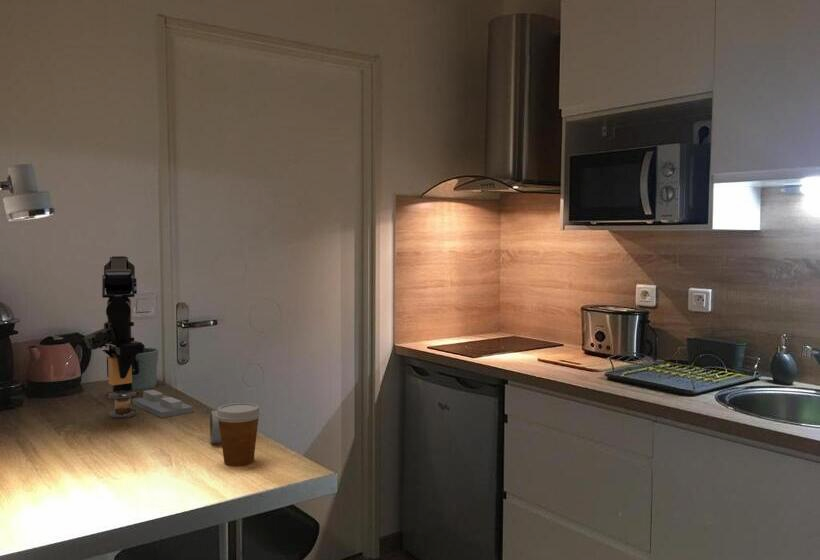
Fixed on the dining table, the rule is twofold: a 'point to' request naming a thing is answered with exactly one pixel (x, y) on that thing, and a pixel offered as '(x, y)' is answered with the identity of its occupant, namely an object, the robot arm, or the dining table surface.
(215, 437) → the ceramic mug
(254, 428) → the disposable coffee cup
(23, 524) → the dining table surface
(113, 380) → the orange tab
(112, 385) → the robot arm
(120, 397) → the grey and brown spool
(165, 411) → the notched board
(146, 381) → the grey green pot
